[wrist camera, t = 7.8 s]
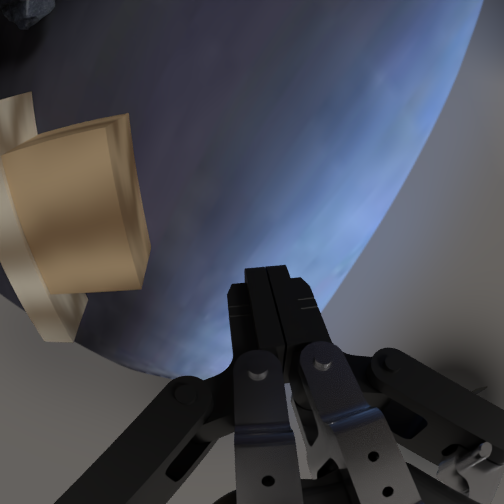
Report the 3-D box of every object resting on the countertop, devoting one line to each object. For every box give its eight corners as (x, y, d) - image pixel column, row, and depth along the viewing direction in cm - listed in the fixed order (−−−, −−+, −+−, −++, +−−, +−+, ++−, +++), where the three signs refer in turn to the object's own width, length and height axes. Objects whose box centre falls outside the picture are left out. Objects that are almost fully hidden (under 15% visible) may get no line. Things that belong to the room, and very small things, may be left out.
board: (1, 103, 13) (-42, 120, 9) (31, 91, 14) (-12, 103, 9) (61, 300, 23) (44, 341, 19) (88, 299, 24) (73, 342, 20)
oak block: (39, 133, 16) (0, 155, 12) (129, 112, 16) (105, 127, 12) (72, 253, 21) (50, 294, 17) (151, 245, 22) (141, 289, 18)
